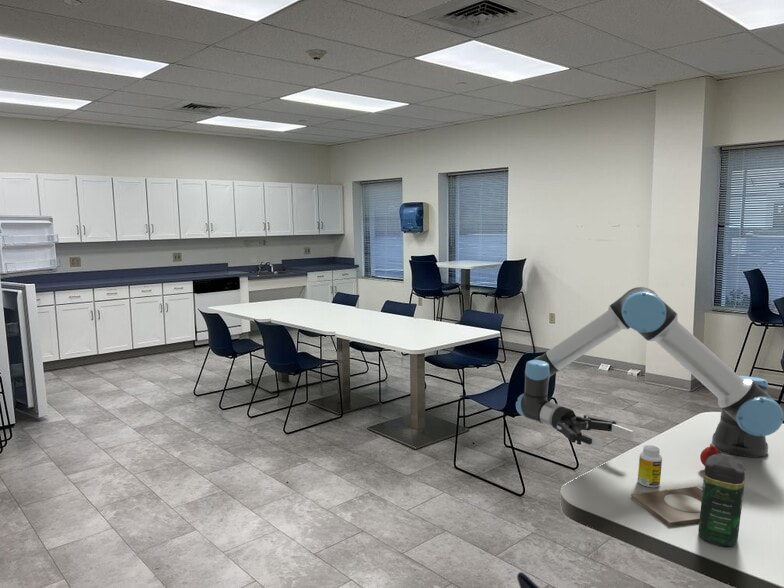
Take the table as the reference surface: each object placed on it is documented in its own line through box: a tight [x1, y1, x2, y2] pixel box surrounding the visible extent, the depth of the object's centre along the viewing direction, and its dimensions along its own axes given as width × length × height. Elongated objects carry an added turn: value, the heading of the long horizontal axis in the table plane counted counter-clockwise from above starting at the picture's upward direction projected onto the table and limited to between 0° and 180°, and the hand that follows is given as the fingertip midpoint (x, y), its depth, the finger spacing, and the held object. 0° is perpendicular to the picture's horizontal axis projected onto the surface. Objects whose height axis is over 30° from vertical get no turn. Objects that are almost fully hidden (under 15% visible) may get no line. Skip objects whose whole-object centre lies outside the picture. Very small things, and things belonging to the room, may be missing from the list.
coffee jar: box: [698, 453, 746, 547], centre depth 128 cm, size 10×8×19 cm
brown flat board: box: [630, 486, 703, 527], centre depth 143 cm, size 20×14×1 cm
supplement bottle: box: [637, 444, 663, 488], centre depth 154 cm, size 6×6×10 cm
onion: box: [699, 443, 723, 467], centre depth 163 cm, size 6×6×8 cm
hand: (618, 440), depth 162 cm, fingers open, 13 cm apart
